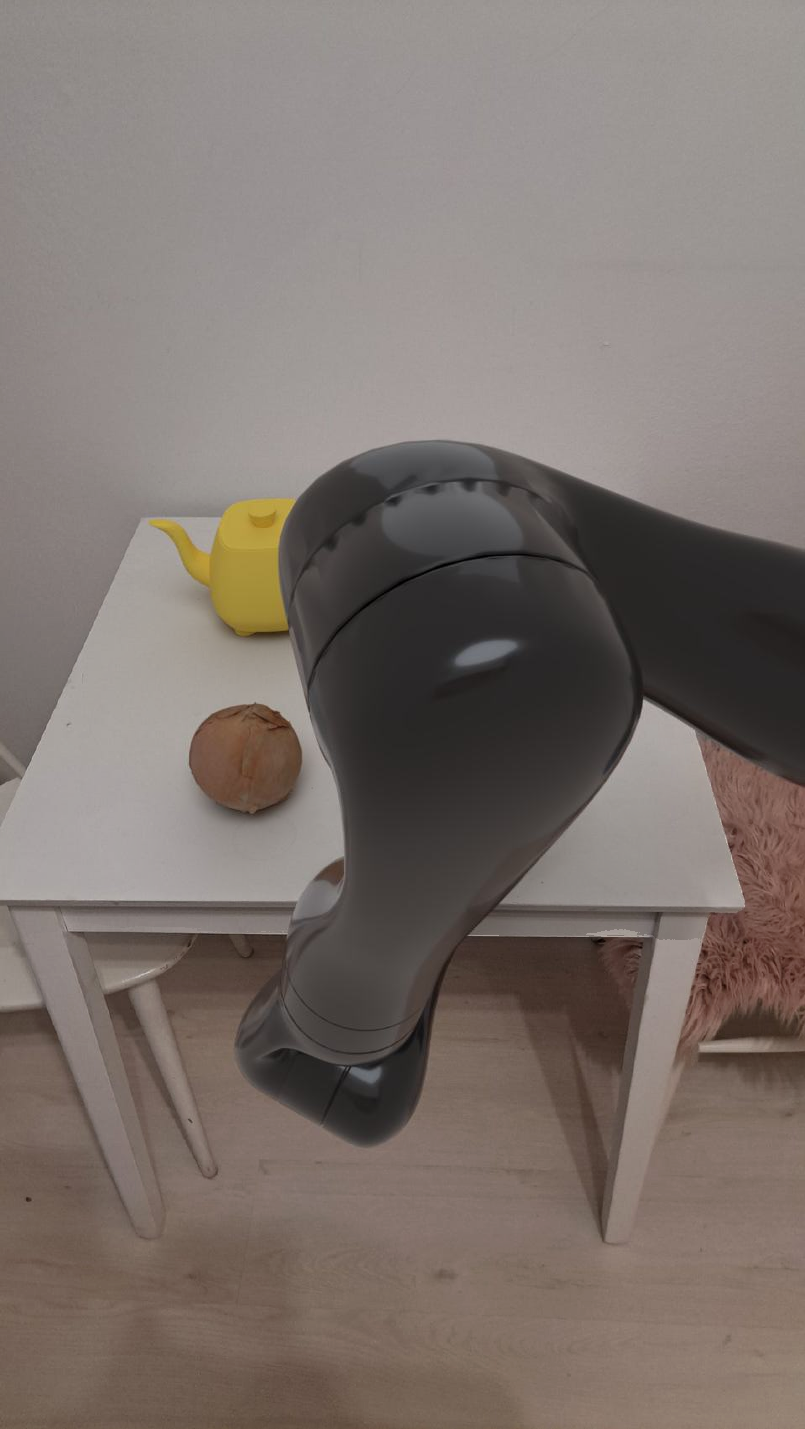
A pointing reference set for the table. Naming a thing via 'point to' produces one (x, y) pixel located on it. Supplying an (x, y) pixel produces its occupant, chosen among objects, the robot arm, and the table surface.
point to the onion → (246, 757)
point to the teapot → (240, 564)
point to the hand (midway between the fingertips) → (538, 678)
